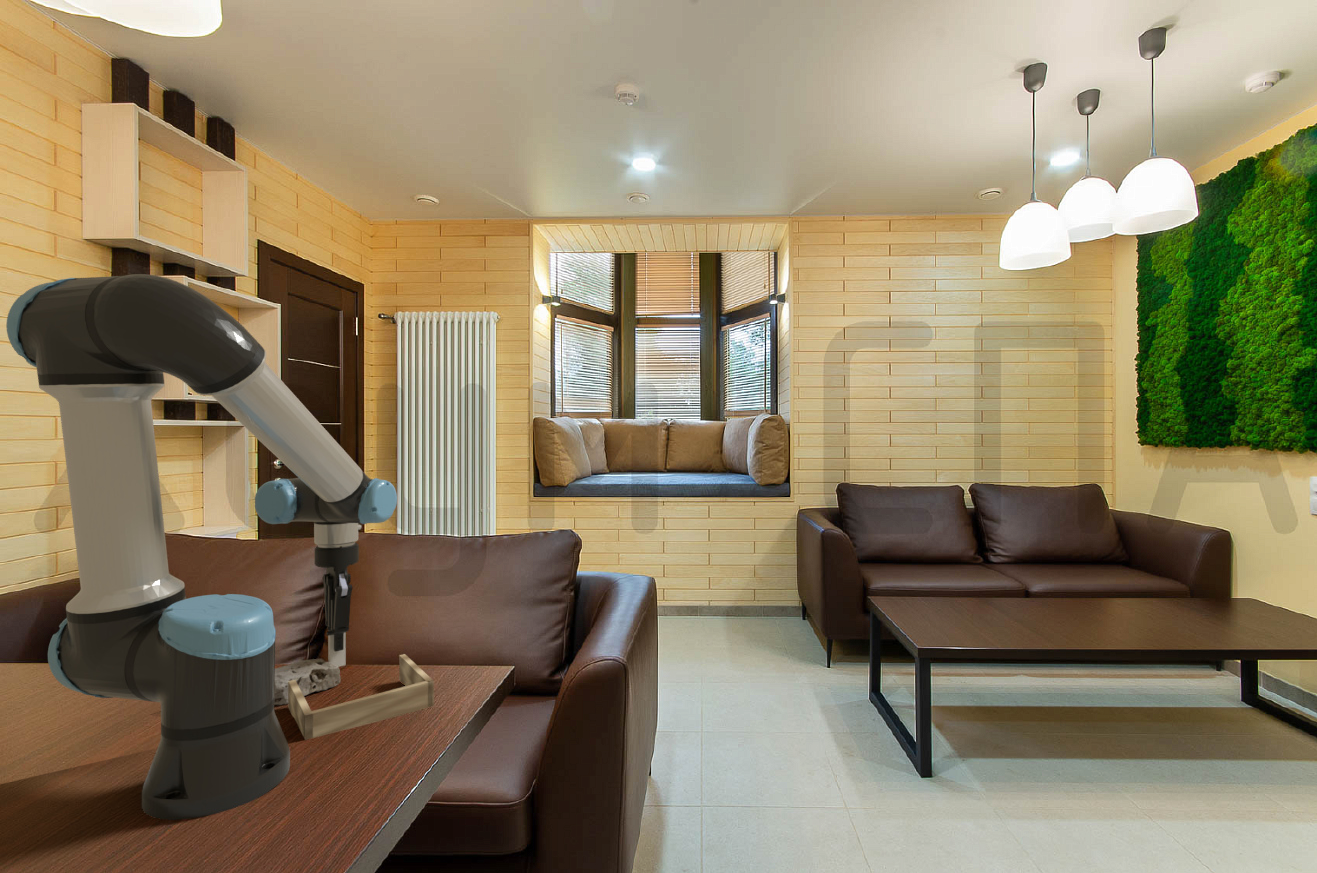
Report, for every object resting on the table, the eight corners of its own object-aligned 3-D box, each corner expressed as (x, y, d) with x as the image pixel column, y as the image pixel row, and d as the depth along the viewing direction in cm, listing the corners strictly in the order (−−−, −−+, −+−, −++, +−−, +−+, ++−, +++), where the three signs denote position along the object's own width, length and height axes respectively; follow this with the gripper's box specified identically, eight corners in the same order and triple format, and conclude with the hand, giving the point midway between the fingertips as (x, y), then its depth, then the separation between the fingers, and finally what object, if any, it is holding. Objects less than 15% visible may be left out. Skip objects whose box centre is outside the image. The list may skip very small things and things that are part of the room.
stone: (352, 679, 111) (313, 674, 114) (349, 650, 110) (309, 646, 114) (289, 718, 98) (247, 712, 102) (284, 686, 98) (242, 680, 101)
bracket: (434, 710, 99) (433, 681, 99) (305, 749, 87) (305, 715, 87) (404, 680, 111) (404, 654, 111) (288, 710, 99) (288, 681, 99)
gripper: (367, 546, 110) (367, 670, 110) (350, 537, 120) (350, 651, 120) (322, 551, 105) (322, 681, 105) (308, 541, 115) (308, 660, 115)
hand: (337, 665), depth 113 cm, fingers closed
